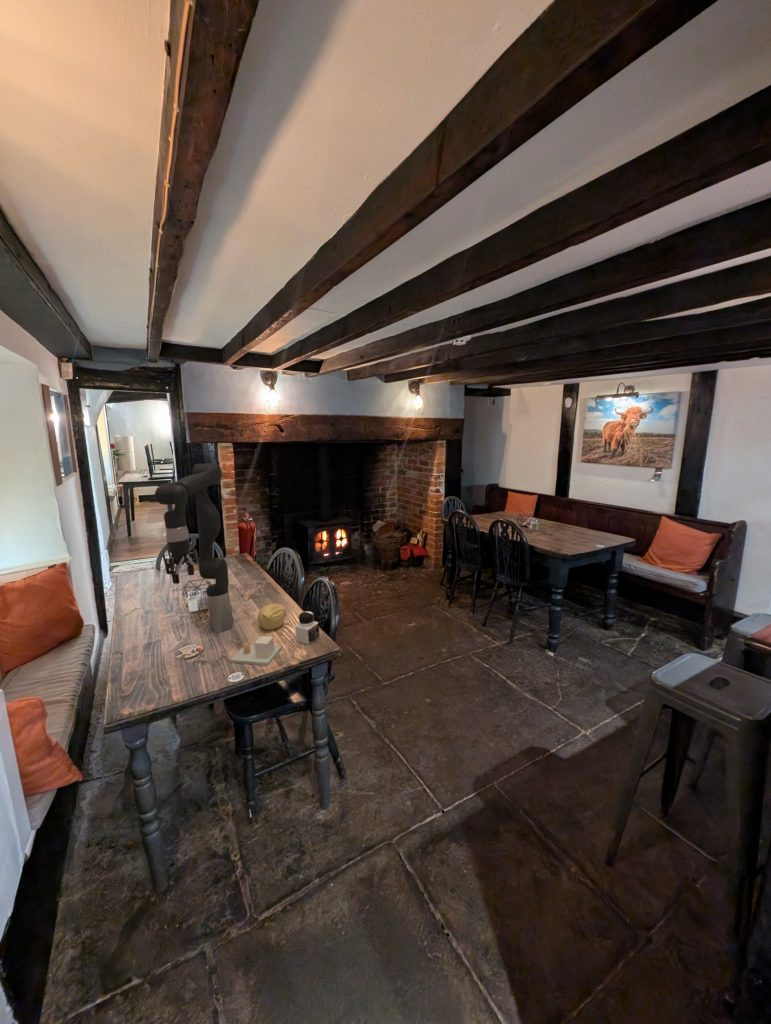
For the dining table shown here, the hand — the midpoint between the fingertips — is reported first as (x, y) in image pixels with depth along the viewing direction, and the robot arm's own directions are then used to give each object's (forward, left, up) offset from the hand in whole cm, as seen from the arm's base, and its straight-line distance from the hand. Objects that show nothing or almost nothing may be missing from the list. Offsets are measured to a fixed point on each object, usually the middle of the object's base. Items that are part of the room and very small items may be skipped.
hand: (184, 579), depth 158 cm
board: (-6, +23, -34) cm, 42 cm away
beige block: (-6, +27, -33) cm, 43 cm away
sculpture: (-30, +18, -34) cm, 49 cm away
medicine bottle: (-21, +39, -34) cm, 56 cm away
